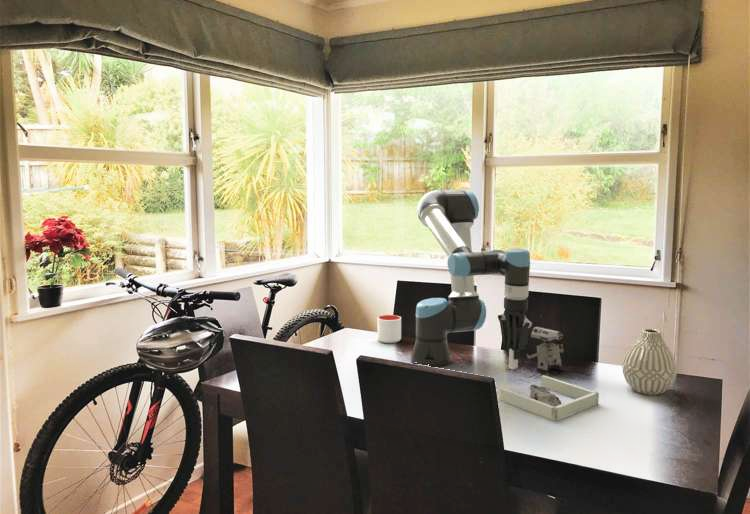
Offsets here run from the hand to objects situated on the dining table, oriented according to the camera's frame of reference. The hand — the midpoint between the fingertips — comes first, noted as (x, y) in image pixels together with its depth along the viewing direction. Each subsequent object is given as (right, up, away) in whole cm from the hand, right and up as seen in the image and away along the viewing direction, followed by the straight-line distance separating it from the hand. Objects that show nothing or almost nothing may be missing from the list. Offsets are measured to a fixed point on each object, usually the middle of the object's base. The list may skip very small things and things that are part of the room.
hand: (513, 367), depth 197 cm
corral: (+9, -9, -11) cm, 16 cm away
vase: (+44, -7, -1) cm, 44 cm away
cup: (-39, 0, +59) cm, 71 cm away
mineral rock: (+7, -9, -13) cm, 17 cm away
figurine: (+16, -5, +21) cm, 27 cm away
